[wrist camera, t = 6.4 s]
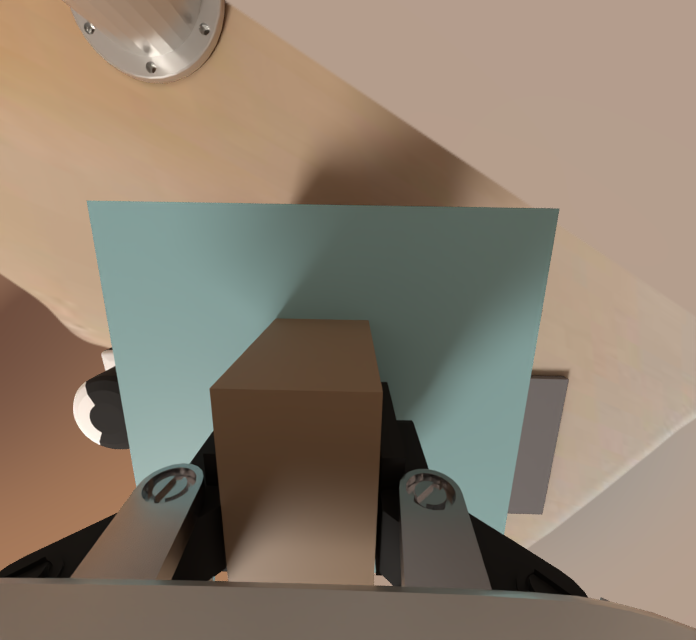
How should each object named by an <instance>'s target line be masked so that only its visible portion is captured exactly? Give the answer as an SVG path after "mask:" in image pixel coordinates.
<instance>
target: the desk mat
mask: <svg viewBox="0 0 696 640" xmlns="http://www.w3.org/2000/svg"><path fill="white" fill-rule="evenodd" d="M568 380H569V379H567V378H565V377H564V376H531V378H530V384H529V390H528V396H527V402H526V407H525V413H524V419H523V425H522V431H521V437H520V443H519V449H518V454H517V460H516V466H515V472H514V478H513V484H512V490H511V495H510V501H509V507H508V513H510V514H542V513H543V508H544V503H545V498H546V493H547V488H548V482H549V477H550V472H551V467H552V462H553V457H554V452H555V447H556V442H557V436H558V431H559V426H560V421H561V416H562V411H563V406H564V401H565V396H566V390H567V385H568Z"/></svg>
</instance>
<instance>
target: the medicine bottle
mask: <svg viewBox="0 0 696 640" xmlns="http://www.w3.org/2000/svg"><path fill="white" fill-rule="evenodd" d="M102 359H103V363H104V366H105V370H106V371H105V372H103V373H101V374H99V375H97V376H95V377H93V378H91V379H90V380H88V381H86V382H85V383H84V384H82V385H81V387H80V388H79V389H78V391H77V393H76V395H75V398H74V404H73V412H74V417H75V420H76V422H77V424H78V426H79V428H80V429H81V431H82V432H83V433H84V434H85V435H86V436H87V437H88V438H89V439H91V440H92V441H94V442H95V443H97V444H99V445H101V446H104V447H108V448H112V449H130V447H129V441H128V435H127V430H126V424H125V418H124V412H123V407H122V401H121V395H120V389H119V384H118V378H117V372H116V366H115V361H114V355H113V349H112V348H110V349H107V350H105V351H103V352H102Z"/></svg>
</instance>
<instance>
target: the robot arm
mask: <svg viewBox="0 0 696 640" xmlns="http://www.w3.org/2000/svg"><path fill="white" fill-rule="evenodd" d="M62 1H63V2H65V3H66V4H67V5H68V6H70V8H71V11H72V13H73V16H74V18H75V21H76V23H77V25H78V27H79V28H80V30H81V32H82V34H83V35H84V37H85V39H86V40H87V41H88V42H89V44H90V45H91V46H92V47H93V49H94V50H95V51H96V52H97V53H98V54H99V55H100V56H101V57H103V58H104V59H105V60H106V61H107V62H108V63H110V64H111V65H112V66H114V67H115V68H117V69H118V70H119V71H121V72H123V73H125V74H127V75H128V76H130V77H132V78H134V79H138V80H141V81H145V82H149V83H167V82H174V81H177V80H180V79H182V78H184V77H187V76H189V75H190V74H191V73H193V72H194V71H196V70H197V69H199V68H200V67H201V65H202V64H203V63H204V62H205V61H206V60H207V59H208V58H209V56H210V54H211V53H212V51H213V49H214V48H215V46H216V44H217V41H218V39H219V36H220V33H221V31H222V25H223V20H224V14H225V0H62ZM208 33H209V34H208ZM207 34H208V35H207ZM381 385H382V390H383V400H382V421H381V442H380V463H379V484H378V504H377V525H376V546H375V567H376V575H383V576H384V577H385V578H386V579H387V580H388V581H389V582H390V583H391V584H392V585H393V586H374V585H343V584H308V583H271V582H231V581H215V576H216V575H217V574H218V573H220V572H221V571H227V563H226V553H225V543H224V533H223V522H222V512H221V502H220V492H219V482H218V471H217V461H216V451H215V441H214V431H213V432H212V433H211V434H210V436H209V437H208V439H207V440H206V441H205V443H204V444H203V446H202V447H201V448H200V450H199V451H198V452H197V454H196V455H195V457H194V458H193V459H192V461H191V462H190V464H186V463H181V464H174V465H170V466H167V467H163V468H161V469H159V470H157V471H155V472H153V473H151V474H150V475H149V476H147V477H146V478H144V479H143V480H142V481H141V482H140V484H139V485H138V486H137V487H136V489H135V490H134V491H133V492H132V494H131V495H130V497H129V498H128V499H127V501H126V502H125V503H124V505H123V506H122V508H121V509H120V510H119V512H118V513H116V514H114V515H112V516H110V517H108V518H105V519H103V520H101V521H99V522H97V523H95V524H93V525H90V526H88V527H86V528H84V529H82V530H80V531H78V532H76V533H74V534H71V535H69V536H67V537H65V538H63V539H61V540H59V541H57V542H55V543H52V544H50V545H48V546H46V547H44V548H42V549H40V550H38V551H35V552H33V553H31V554H29V555H27V556H25V557H23V558H21V559H19V560H18V561H16V562H14V563H12V564H10V565H8V566H7V567H6V568H4V569H3V570H1V571H0V640H696V629H695V628H693V627H690V626H687V625H685V624H682V623H679V622H676V621H674V620H671V619H669V618H666V617H663V616H661V615H658V614H655V613H652V612H648V611H645V610H641V609H637V608H633V607H629V606H626V605H622V604H618V603H614V602H610V601H608V600H606V599H603V598H600V600H597V599H592V598H588V597H587V595H586V593H585V592H584V591H583V590H582V589H581V588H580V587H579V586H578V585H577V584H576V583H575V582H574V581H573V580H572V579H571V578H570V577H568V576H567V575H566V574H564V573H563V572H562V571H560V570H559V569H557V568H556V567H554V566H552V565H551V564H549V563H548V562H546V561H544V560H543V559H541V558H540V557H538V556H536V555H535V554H533V553H532V552H530V551H528V550H527V549H525V548H524V547H522V546H521V545H519V544H517V543H516V542H514V541H513V540H511V539H509V538H508V537H506V536H505V535H503V534H502V533H500V532H498V531H497V530H495V529H494V528H492V527H490V526H489V525H487V524H486V523H484V522H482V521H481V520H479V519H478V518H476V517H475V516H473V515H471V514H470V513H468V510H467V506H466V503H465V500H464V497H463V493H462V491H461V489H460V487H459V486H458V485H457V484H456V483H455V481H454V480H453V479H451V478H450V477H448V476H447V475H445V474H443V473H440V472H438V471H435V470H430V469H429V468H428V465H427V462H426V459H425V456H424V453H423V450H422V447H421V444H420V441H419V438H418V435H417V432H416V429H415V426H414V423H413V421H412V420H396V415H395V411H394V407H393V403H392V399H391V395H390V391H389V387H388V383H387V382H381Z"/></svg>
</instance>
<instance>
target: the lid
mask: <svg viewBox="0 0 696 640" xmlns="http://www.w3.org/2000/svg"><path fill="white" fill-rule="evenodd" d="M87 205H88V211H89V217H90V222H91V228H92V234H93V240H94V245H95V251H96V257H97V263H98V268H99V274H100V280H101V286H102V291H103V297H104V303H105V309H106V315H107V320H108V326H109V332H110V338H111V343H112V349H113V355H114V361H115V366H116V372H117V378H118V384H119V389H120V395H121V401H122V407H123V412H124V418H125V424H126V430H127V435H128V441H129V447H130V453H131V459H132V464H133V470H134V475H135V482H136V487H137V486H138V485H139V484H140V482H141V481H142V480H143V479H144V478H146V477H147V476H149V475H150V474H151V473H153V472H155V471H157V470H159V469H161V468H163V467H167V466H170V465H174V464H181V463H186V464H190V462H191V461H192V459H193V458H194V457H195V455H196V454H197V452H198V451H199V450H200V448H201V447H202V446H203V444H204V443H205V441H206V440H207V439H208V437H209V436H210V434H211V433H212V432H213V431H214V441H215V451H216V461H217V471H218V482H219V492H220V502H221V512H222V522H223V533H224V543H225V553H226V563H227V573H228V581H231V582H271V583H308V584H343V585H374V573H376V567H375V546H376V525H377V504H378V484H379V463H380V442H381V421H382V400H383V390H382V385H381V382H387V383H388V387H389V391H390V395H391V399H392V403H393V407H394V411H395V415H396V420H412V421H413V423H414V426H415V429H416V432H417V435H418V438H419V441H420V444H421V447H422V450H423V453H424V456H425V459H426V462H427V465H428V468H429V469H430V470H435V471H438V472H440V473H443V474H445V475H447V476H448V477H450V478H451V479H453V480H454V481H455V483H456V484H457V485H458V486H459V487H460V489H461V491H462V493H463V497H464V500H465V503H466V506H467V510H468V513H470V514H471V515H473V516H475V517H476V518H478V519H479V520H481V521H482V522H484V523H486V524H487V525H489V526H490V527H492V528H494V529H495V530H497V531H498V532H500V533H502V534H503V535H504V531H505V525H506V519H507V513H508V507H509V501H510V495H511V490H512V484H513V478H514V472H515V466H516V460H517V454H518V449H519V443H520V437H521V431H522V425H523V419H524V413H525V407H526V402H527V396H528V390H529V384H530V378H531V372H532V366H533V360H534V355H535V349H536V343H537V337H538V331H539V325H540V319H541V313H542V308H543V302H544V296H545V290H546V284H547V278H548V272H549V266H550V261H551V255H552V249H553V243H554V237H555V231H556V225H557V220H558V214H559V209H550V208H547V209H546V208H490V207H431V206H371V205H311V204H251V203H191V202H131V201H87Z"/></svg>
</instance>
